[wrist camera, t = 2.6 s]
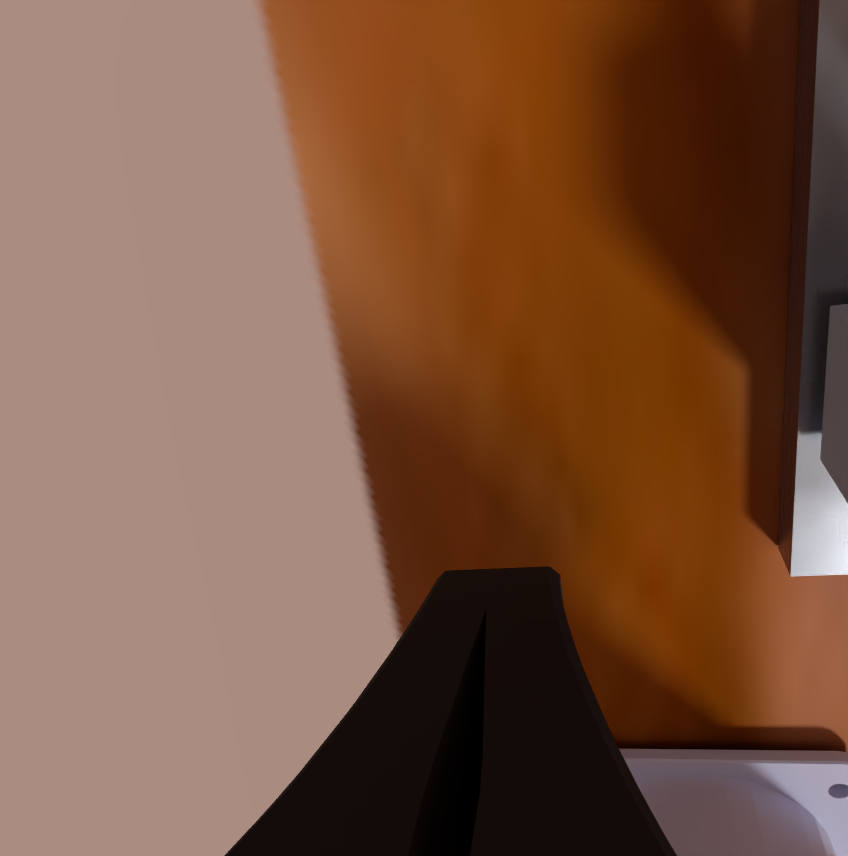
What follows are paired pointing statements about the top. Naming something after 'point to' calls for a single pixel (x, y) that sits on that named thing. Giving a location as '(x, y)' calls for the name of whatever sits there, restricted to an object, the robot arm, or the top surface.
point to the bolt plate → (815, 292)
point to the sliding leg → (836, 400)
